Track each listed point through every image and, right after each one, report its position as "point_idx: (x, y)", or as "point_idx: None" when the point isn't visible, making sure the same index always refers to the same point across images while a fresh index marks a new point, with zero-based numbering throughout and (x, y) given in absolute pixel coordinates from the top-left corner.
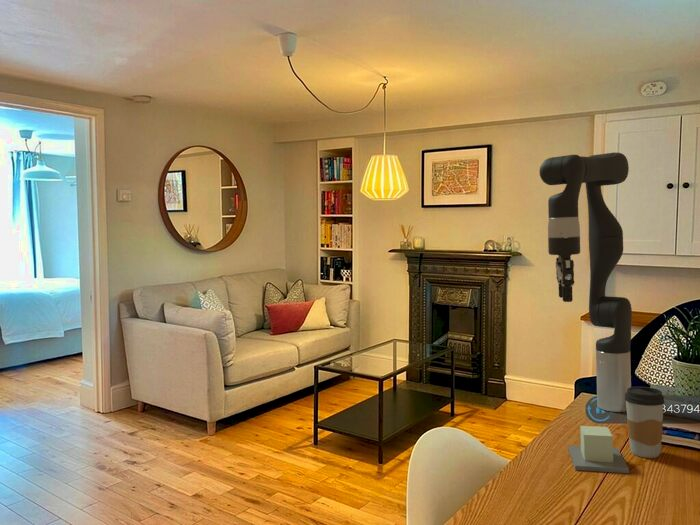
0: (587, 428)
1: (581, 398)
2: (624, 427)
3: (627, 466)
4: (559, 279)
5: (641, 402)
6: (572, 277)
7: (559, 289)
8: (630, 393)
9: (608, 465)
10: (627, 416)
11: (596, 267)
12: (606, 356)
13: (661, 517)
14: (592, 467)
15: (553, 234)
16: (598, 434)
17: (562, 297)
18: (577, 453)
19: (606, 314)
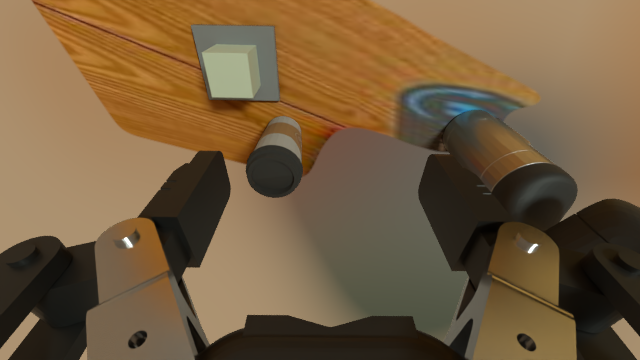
0: (236, 64)
1: (532, 91)
2: (377, 127)
3: (216, 99)
4: (489, 260)
5: (247, 162)
6: (18, 356)
7: (454, 188)
8: (258, 157)
9: None
10: (277, 134)
11: None
12: (500, 171)
13: (106, 104)
14: (198, 52)
15: None
16: (212, 77)
17: (425, 167)
18: (241, 37)
19: (570, 247)
